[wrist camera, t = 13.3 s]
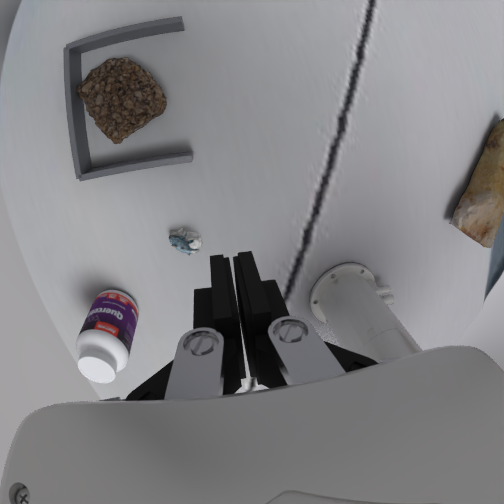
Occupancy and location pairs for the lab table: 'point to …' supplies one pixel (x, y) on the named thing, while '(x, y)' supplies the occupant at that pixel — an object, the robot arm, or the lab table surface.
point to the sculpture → (185, 241)
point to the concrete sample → (121, 98)
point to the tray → (77, 107)
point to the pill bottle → (107, 336)
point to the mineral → (484, 193)
